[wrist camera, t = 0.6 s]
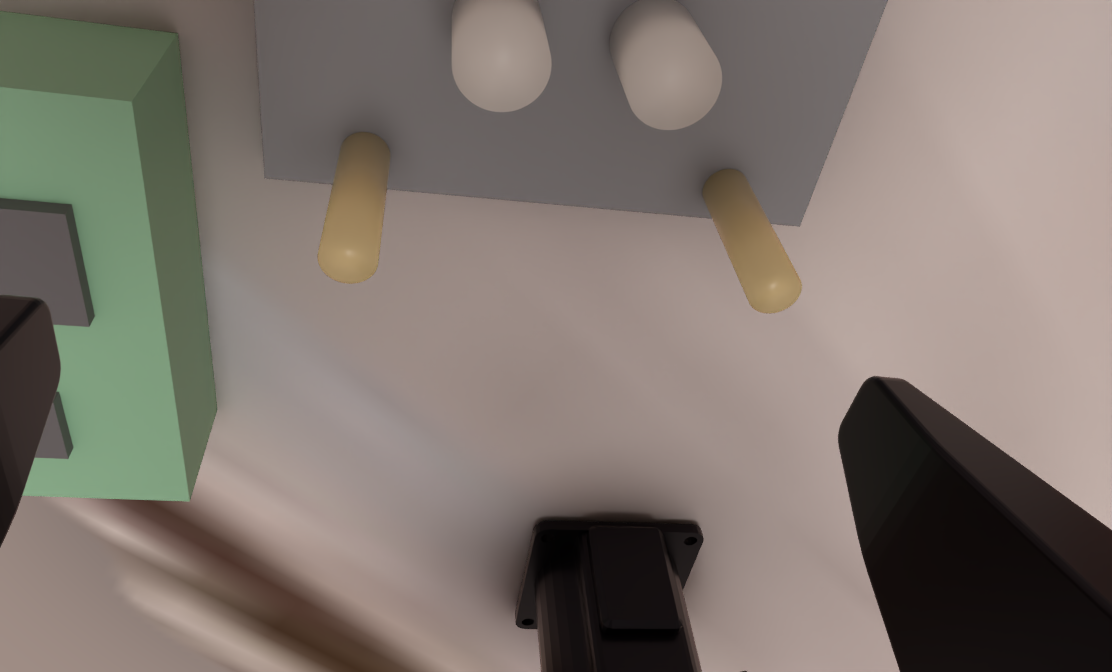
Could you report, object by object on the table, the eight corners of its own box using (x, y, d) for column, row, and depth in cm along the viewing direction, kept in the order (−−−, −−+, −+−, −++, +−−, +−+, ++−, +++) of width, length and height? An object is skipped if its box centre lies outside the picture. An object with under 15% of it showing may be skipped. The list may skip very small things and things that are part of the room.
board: (219, 403, 27) (186, 512, 24) (12, 391, 26) (-53, 504, 23) (181, 28, 20) (125, 110, 16) (-109, -9, 19) (-232, 71, 15)
